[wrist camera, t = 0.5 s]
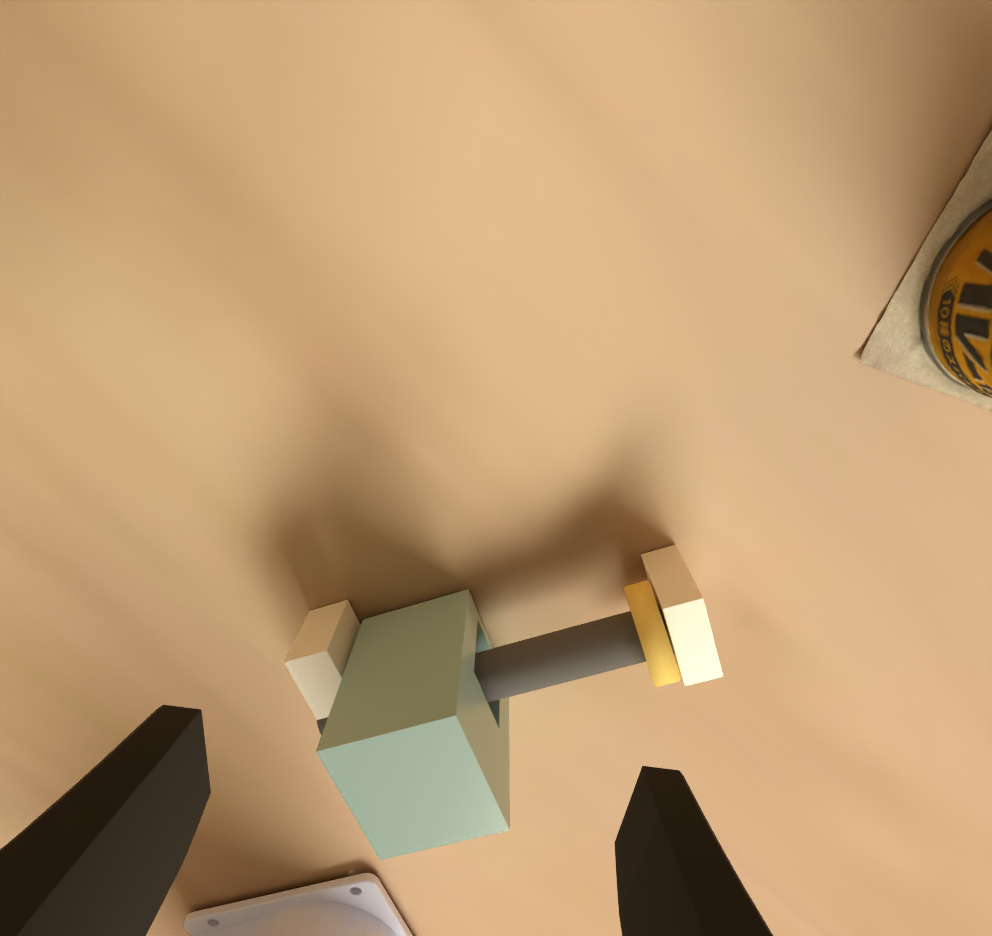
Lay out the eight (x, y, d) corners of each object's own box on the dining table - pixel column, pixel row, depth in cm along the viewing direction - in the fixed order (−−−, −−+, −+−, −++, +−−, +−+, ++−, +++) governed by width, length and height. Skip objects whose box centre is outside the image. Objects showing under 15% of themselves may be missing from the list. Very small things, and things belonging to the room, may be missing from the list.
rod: (357, 717, 23) (335, 790, 20) (321, 651, 22) (293, 718, 19) (699, 627, 22) (730, 692, 19) (679, 550, 20) (708, 607, 17)
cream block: (660, 623, 22) (685, 686, 19) (640, 554, 21) (662, 609, 18) (694, 614, 22) (723, 676, 19) (675, 544, 21) (703, 597, 18)
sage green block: (409, 711, 24) (379, 860, 18) (362, 619, 22) (315, 751, 17) (508, 685, 23) (509, 830, 18) (468, 589, 22) (456, 715, 16)
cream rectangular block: (375, 732, 24) (359, 794, 22) (309, 610, 22) (283, 662, 20) (410, 723, 24) (399, 784, 22) (347, 599, 22) (326, 650, 19)
